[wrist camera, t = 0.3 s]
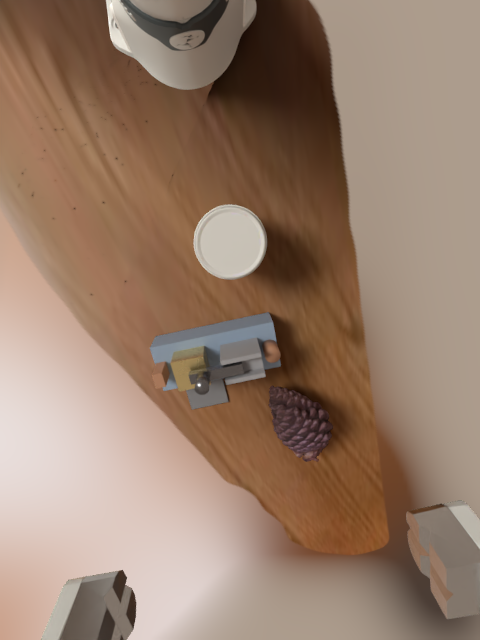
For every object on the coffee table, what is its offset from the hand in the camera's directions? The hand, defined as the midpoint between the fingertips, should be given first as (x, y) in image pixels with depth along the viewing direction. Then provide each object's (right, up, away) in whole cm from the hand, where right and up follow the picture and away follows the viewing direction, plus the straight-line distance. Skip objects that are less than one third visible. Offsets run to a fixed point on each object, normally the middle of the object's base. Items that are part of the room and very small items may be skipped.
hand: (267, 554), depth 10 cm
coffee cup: (-3, +20, +44) cm, 49 cm away
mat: (-7, -6, +53) cm, 54 cm away
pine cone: (+10, -10, +55) cm, 57 cm away
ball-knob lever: (-4, -1, +41) cm, 41 cm away
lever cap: (-8, 0, +45) cm, 46 cm away
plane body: (-5, +2, +50) cm, 50 cm away
